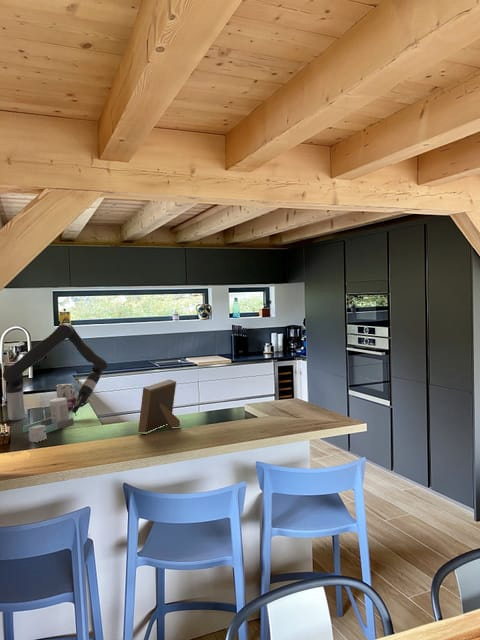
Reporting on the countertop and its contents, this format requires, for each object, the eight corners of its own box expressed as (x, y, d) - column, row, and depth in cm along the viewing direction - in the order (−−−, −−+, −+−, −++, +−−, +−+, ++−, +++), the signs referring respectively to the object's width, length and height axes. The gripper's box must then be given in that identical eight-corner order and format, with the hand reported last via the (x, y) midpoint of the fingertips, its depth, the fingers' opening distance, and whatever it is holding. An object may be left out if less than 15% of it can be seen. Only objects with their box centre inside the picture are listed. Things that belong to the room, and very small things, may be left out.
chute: (23, 432, 266) (22, 426, 265) (56, 421, 285) (55, 415, 284) (40, 434, 258) (40, 428, 258) (73, 423, 277) (73, 417, 276)
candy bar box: (77, 407, 320) (74, 383, 319) (73, 409, 315) (71, 384, 314) (61, 407, 322) (59, 383, 321) (57, 409, 317) (55, 385, 316)
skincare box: (37, 442, 244) (35, 428, 243) (29, 441, 247) (28, 427, 246) (47, 439, 249) (45, 425, 249) (39, 438, 252) (38, 424, 252)
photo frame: (138, 434, 245) (134, 386, 244) (164, 423, 264) (162, 378, 263) (160, 437, 238) (157, 388, 236) (186, 425, 257) (183, 380, 255)
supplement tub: (69, 421, 284) (67, 396, 283) (69, 424, 275) (67, 399, 274) (52, 423, 281) (49, 399, 280) (51, 427, 272) (49, 402, 271)
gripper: (76, 384, 297) (62, 408, 287) (91, 385, 290) (77, 409, 280) (84, 390, 302) (70, 414, 292) (98, 391, 295) (85, 416, 285)
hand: (73, 412), depth 286 cm, fingers closed
